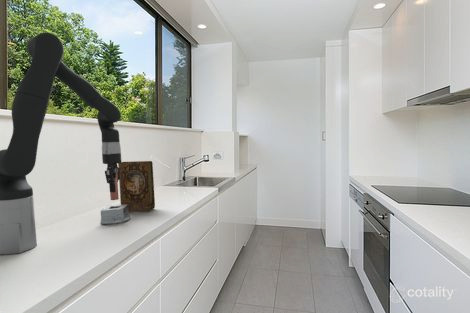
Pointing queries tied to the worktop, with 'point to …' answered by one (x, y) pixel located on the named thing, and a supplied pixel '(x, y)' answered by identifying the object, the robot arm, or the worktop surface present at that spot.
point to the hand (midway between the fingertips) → (114, 191)
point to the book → (137, 185)
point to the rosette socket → (115, 214)
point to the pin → (115, 194)
